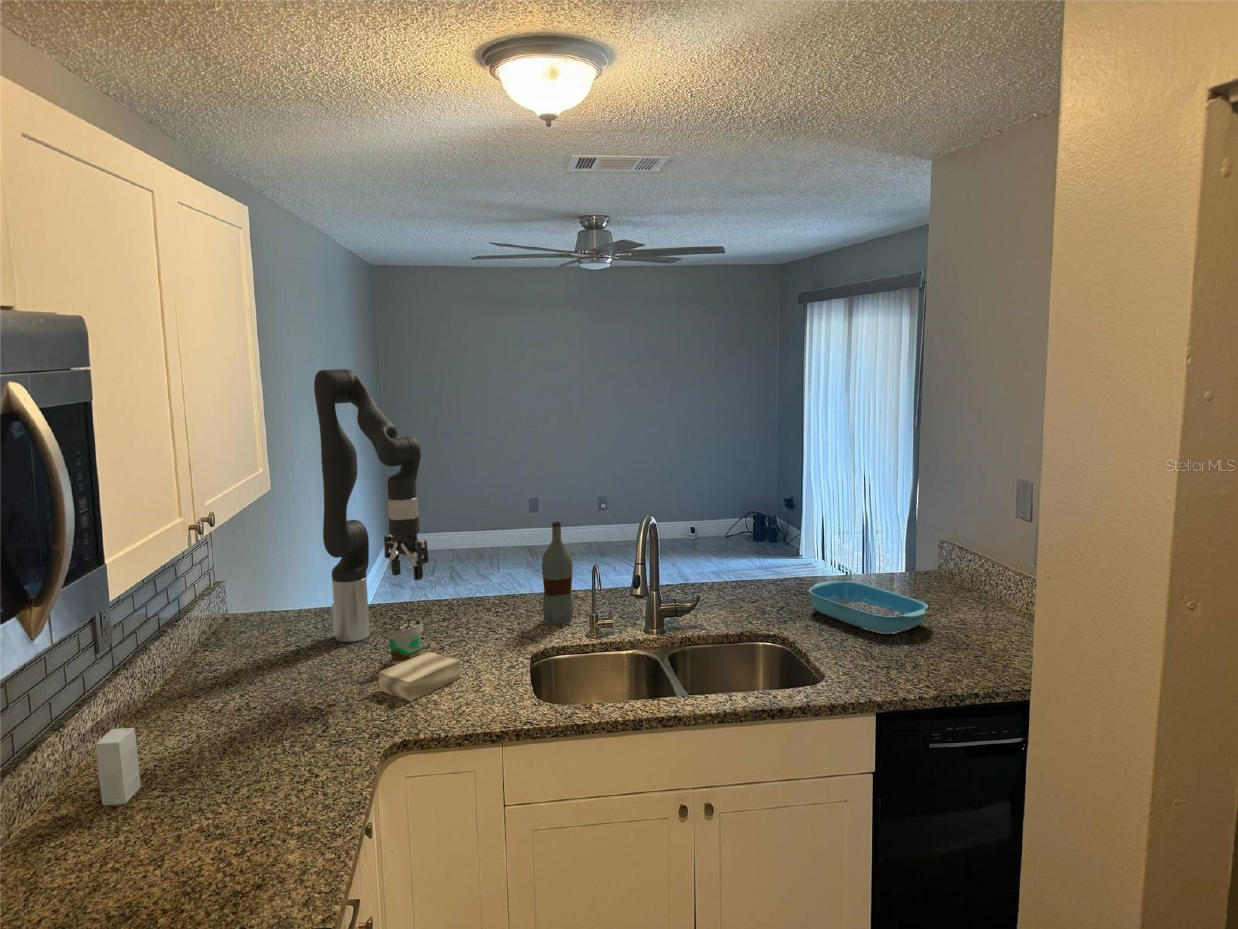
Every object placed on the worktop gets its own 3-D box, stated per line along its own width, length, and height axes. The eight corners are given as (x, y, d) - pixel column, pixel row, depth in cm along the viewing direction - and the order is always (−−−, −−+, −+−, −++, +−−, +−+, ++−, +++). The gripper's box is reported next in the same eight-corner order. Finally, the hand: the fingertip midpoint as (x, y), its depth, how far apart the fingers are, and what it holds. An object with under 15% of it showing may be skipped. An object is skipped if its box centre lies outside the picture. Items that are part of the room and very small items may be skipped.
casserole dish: (943, 629, 240) (944, 605, 239) (893, 645, 228) (894, 620, 227) (842, 597, 270) (843, 576, 269) (793, 610, 258) (794, 588, 257)
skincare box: (117, 788, 156) (111, 728, 155) (141, 787, 157) (135, 727, 155) (100, 806, 150) (94, 743, 149) (125, 805, 151) (119, 742, 149)
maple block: (379, 692, 200) (378, 672, 199) (429, 670, 213) (428, 651, 212) (410, 702, 194) (409, 682, 193) (460, 679, 207) (459, 660, 206)
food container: (412, 671, 212) (410, 633, 210) (389, 669, 213) (387, 631, 211) (432, 653, 224) (430, 617, 222) (410, 651, 225) (409, 616, 223)
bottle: (556, 614, 255) (554, 518, 251) (580, 619, 250) (578, 521, 246) (536, 622, 248) (534, 523, 243) (560, 628, 242) (558, 527, 238)
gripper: (373, 515, 214) (377, 576, 216) (410, 520, 206) (414, 584, 208) (397, 510, 220) (401, 570, 222) (433, 515, 212) (437, 577, 214)
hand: (407, 577), depth 215 cm, fingers open, 8 cm apart
